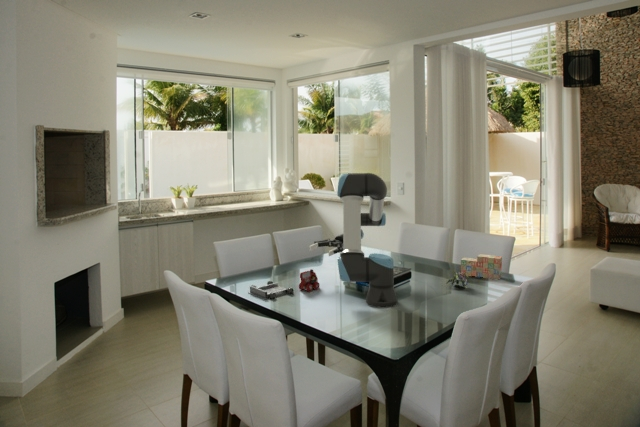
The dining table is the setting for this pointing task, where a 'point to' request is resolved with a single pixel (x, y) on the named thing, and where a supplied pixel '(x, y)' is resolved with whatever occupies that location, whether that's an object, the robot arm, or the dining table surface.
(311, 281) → the red plastic toy vehicle
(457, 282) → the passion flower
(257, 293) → the chassis bay
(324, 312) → the dining table surface
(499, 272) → the stack of blocks
